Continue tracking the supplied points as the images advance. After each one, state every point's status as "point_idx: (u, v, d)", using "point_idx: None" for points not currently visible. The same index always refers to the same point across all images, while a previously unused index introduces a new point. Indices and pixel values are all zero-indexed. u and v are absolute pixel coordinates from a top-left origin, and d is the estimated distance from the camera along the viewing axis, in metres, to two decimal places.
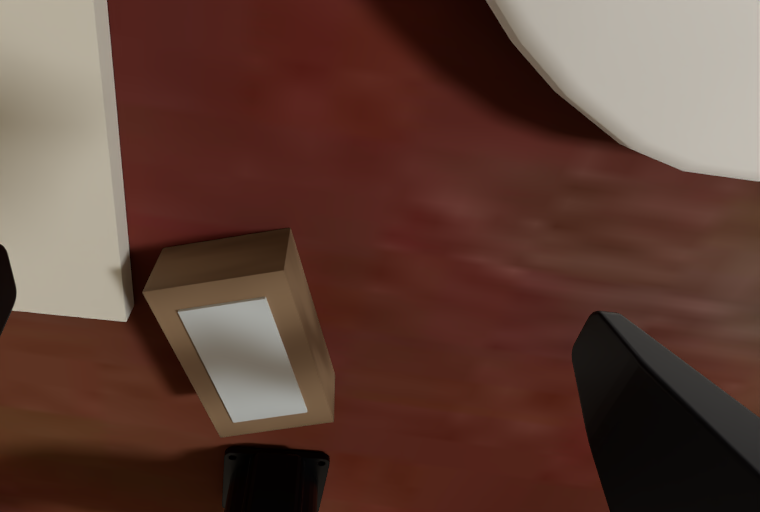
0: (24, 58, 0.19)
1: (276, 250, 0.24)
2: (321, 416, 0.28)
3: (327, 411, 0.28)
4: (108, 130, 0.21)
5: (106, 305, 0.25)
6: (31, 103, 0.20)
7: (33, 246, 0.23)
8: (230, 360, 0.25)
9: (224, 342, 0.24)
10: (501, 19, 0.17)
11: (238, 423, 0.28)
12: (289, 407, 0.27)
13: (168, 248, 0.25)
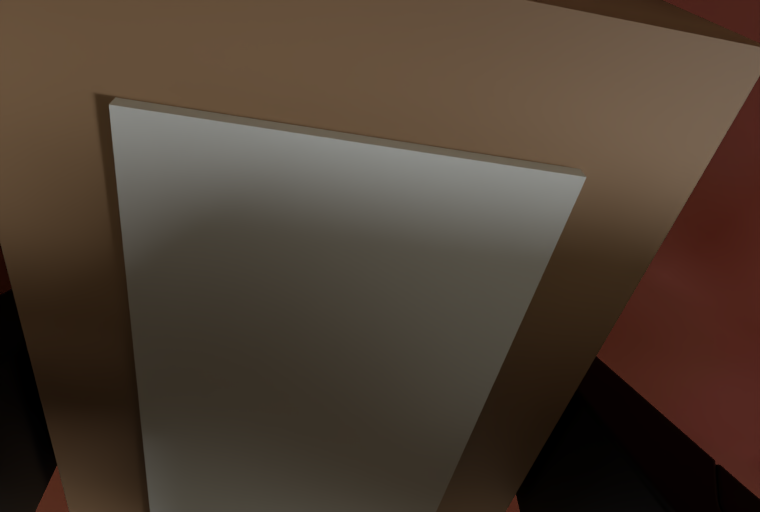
0: None
1: None
2: None
3: None
4: None
5: None
6: None
7: None
8: (255, 404, 0.06)
9: (272, 330, 0.05)
10: None
11: None
12: None
13: None
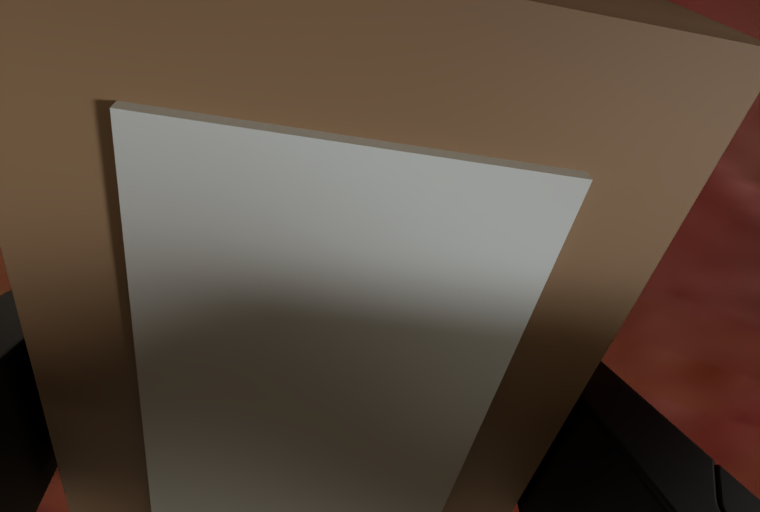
0: None
1: None
2: None
3: None
4: None
5: None
6: None
7: None
8: (257, 408, 0.06)
9: (275, 334, 0.05)
10: None
11: None
12: None
13: None
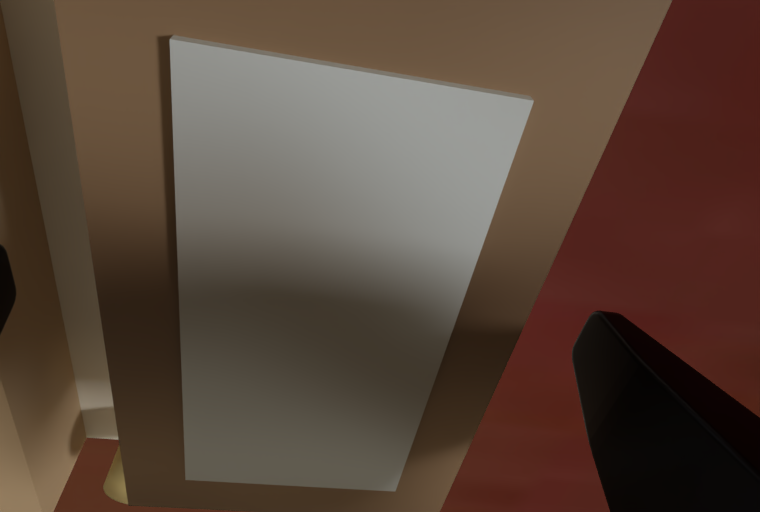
0: None
1: None
2: (416, 504, 0.11)
3: (438, 496, 0.11)
4: None
5: None
6: None
7: None
8: (273, 302, 0.07)
9: (289, 233, 0.07)
10: None
11: (196, 483, 0.10)
12: (359, 472, 0.10)
13: None
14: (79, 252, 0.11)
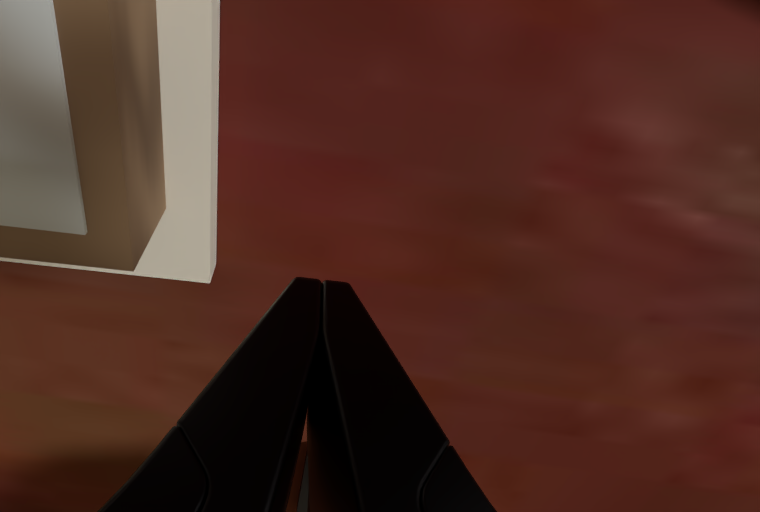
0: None
1: None
2: (112, 253, 0.15)
3: (125, 245, 0.15)
4: (213, 4, 0.15)
5: (186, 260, 0.20)
6: None
7: None
8: None
9: None
10: None
11: None
12: (51, 214, 0.14)
13: None
14: None
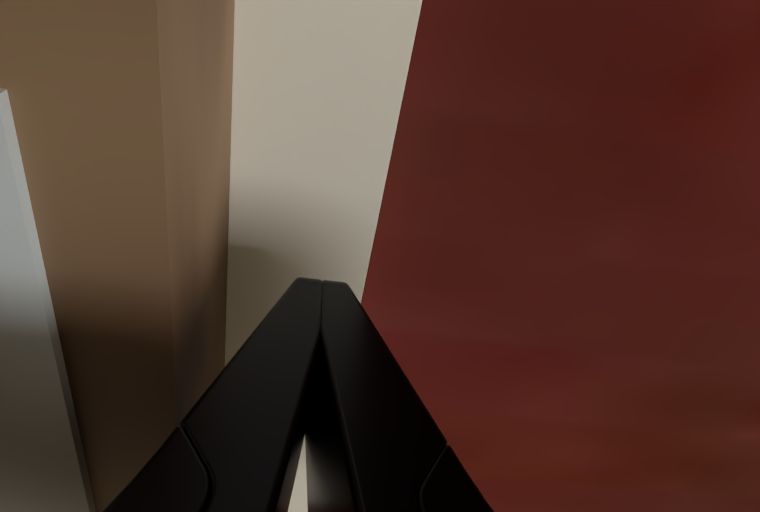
0: None
1: None
2: None
3: None
4: (384, 174, 0.09)
5: None
6: None
7: None
8: None
9: None
10: None
11: None
12: None
13: None
14: None
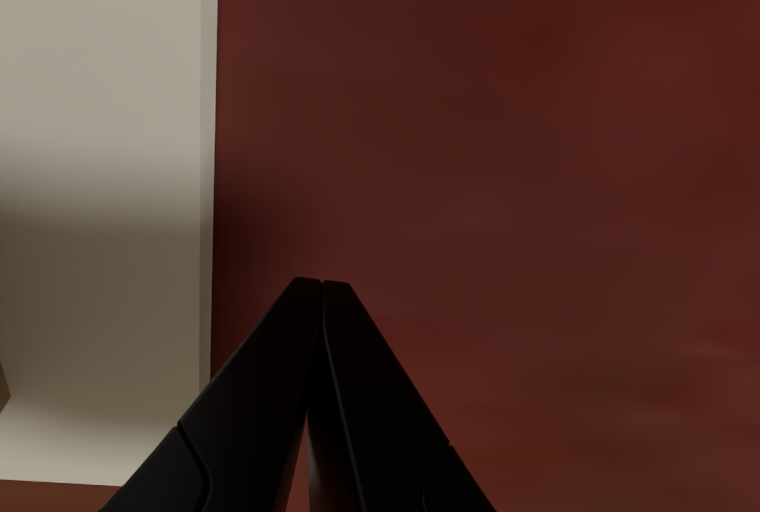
0: None
1: None
2: None
3: None
4: (203, 124, 0.08)
5: None
6: (9, 52, 0.07)
7: (20, 372, 0.11)
8: None
9: None
10: None
11: None
12: None
13: None
14: None
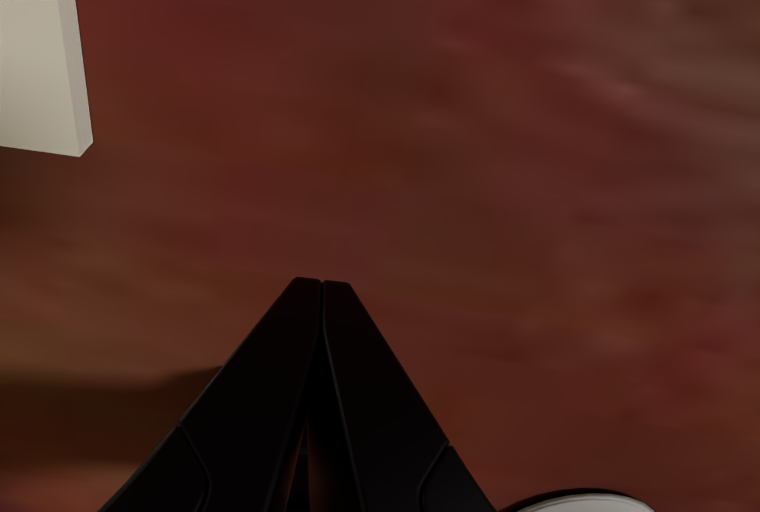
0: None
1: None
2: None
3: None
4: None
5: (49, 127, 0.18)
6: None
7: None
8: None
9: None
10: None
11: None
12: None
13: None
14: None
